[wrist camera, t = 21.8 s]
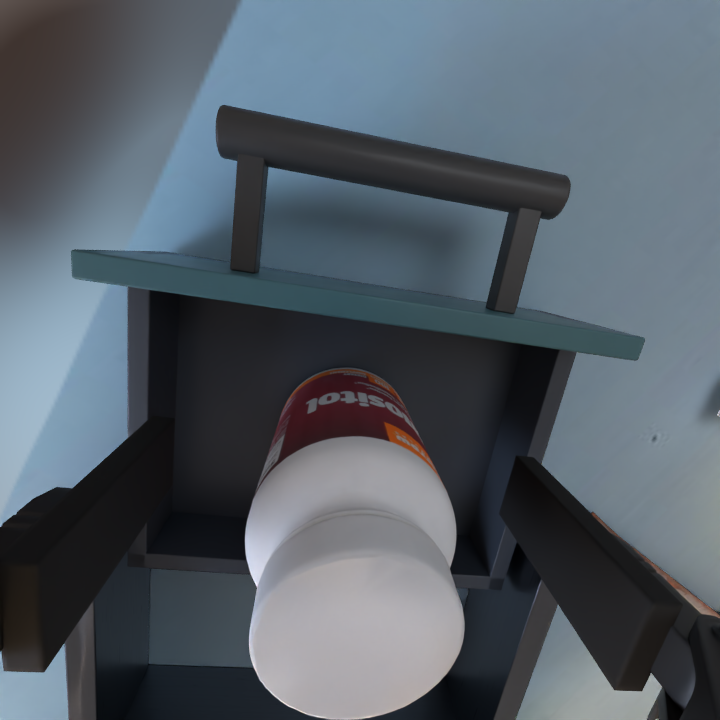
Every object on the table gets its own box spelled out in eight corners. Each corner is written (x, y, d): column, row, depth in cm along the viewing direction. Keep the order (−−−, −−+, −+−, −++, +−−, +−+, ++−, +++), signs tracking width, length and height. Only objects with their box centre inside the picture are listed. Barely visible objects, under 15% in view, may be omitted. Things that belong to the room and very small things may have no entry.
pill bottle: (424, 384, 18) (554, 560, 8) (381, 490, 20) (441, 762, 9) (301, 346, 17) (257, 487, 7) (265, 460, 19) (181, 726, 8)
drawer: (168, 131, 15) (62, 48, 9) (572, 209, 17) (702, 184, 11) (158, 518, 20) (84, 633, 14) (477, 543, 22) (533, 652, 16)
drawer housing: (127, 466, 19) (-194, 801, 7) (514, 502, 21) (736, 796, 10) (127, 673, 22) (-89, 1120, 11) (459, 684, 25) (573, 1057, 13)
